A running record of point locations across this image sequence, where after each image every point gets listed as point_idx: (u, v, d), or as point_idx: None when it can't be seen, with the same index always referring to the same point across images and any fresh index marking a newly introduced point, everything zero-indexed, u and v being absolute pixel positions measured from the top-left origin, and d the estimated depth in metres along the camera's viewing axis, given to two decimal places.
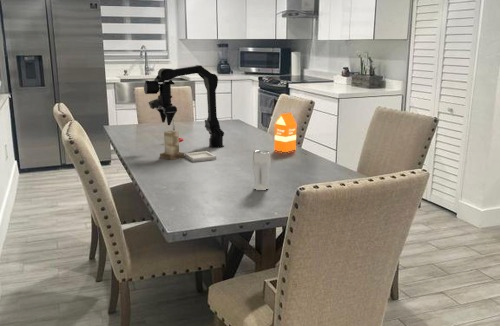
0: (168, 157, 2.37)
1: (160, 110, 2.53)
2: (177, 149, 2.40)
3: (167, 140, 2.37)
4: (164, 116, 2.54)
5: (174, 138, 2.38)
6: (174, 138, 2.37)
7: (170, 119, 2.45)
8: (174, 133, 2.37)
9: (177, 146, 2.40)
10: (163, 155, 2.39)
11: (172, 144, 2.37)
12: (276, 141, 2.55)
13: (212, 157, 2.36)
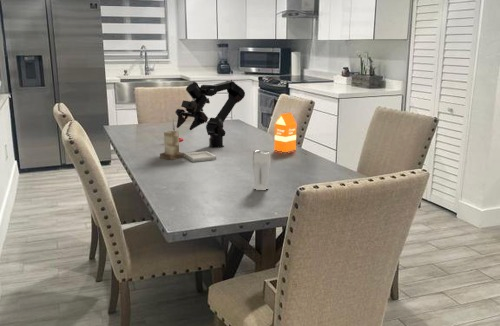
0: (168, 157, 2.37)
1: (181, 116, 2.49)
2: (177, 149, 2.40)
3: (167, 140, 2.37)
4: (180, 123, 2.49)
5: (174, 138, 2.38)
6: (174, 138, 2.37)
7: (195, 125, 2.43)
8: (174, 133, 2.37)
9: (177, 146, 2.40)
10: (163, 155, 2.39)
11: (172, 144, 2.37)
12: (276, 141, 2.55)
13: (212, 157, 2.36)
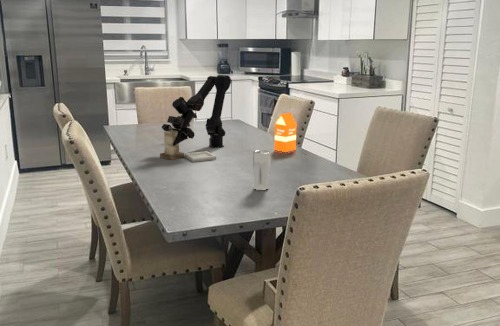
0: (168, 157, 2.37)
1: None
2: (177, 149, 2.40)
3: (167, 140, 2.37)
4: None
5: (175, 138, 2.37)
6: (174, 138, 2.37)
7: (178, 141, 2.38)
8: (174, 133, 2.37)
9: (177, 146, 2.40)
10: (163, 155, 2.39)
11: (172, 144, 2.37)
12: (276, 141, 2.55)
13: (212, 157, 2.36)
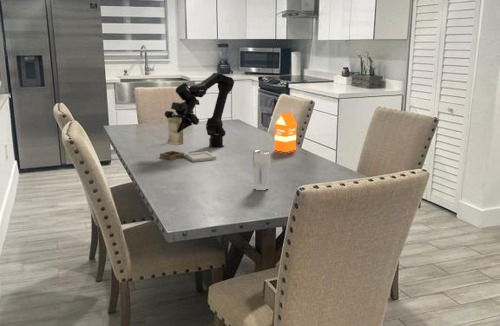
0: (168, 157, 2.37)
1: None
2: (181, 136, 2.38)
3: (171, 126, 2.35)
4: None
5: (179, 125, 2.35)
6: (178, 124, 2.35)
7: (183, 127, 2.36)
8: (178, 120, 2.34)
9: (181, 133, 2.38)
10: (163, 155, 2.39)
11: (176, 131, 2.34)
12: (276, 141, 2.55)
13: (212, 157, 2.36)
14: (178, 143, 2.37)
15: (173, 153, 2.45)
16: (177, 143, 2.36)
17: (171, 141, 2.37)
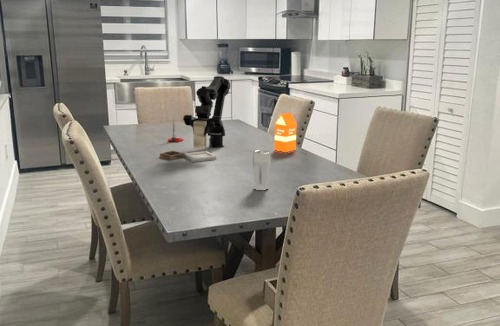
0: (168, 157, 2.37)
1: None
2: (205, 139, 2.38)
3: (198, 130, 2.34)
4: None
5: (204, 128, 2.36)
6: (204, 128, 2.35)
7: (208, 130, 2.37)
8: (204, 123, 2.35)
9: (205, 136, 2.38)
10: (163, 155, 2.39)
11: (203, 134, 2.34)
12: (276, 141, 2.55)
13: (212, 157, 2.36)
14: (204, 146, 2.37)
15: (173, 153, 2.45)
16: (203, 146, 2.36)
17: (197, 145, 2.36)
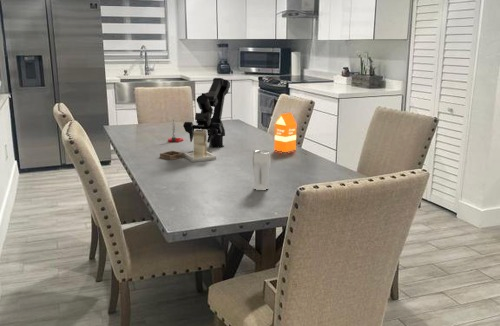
0: (168, 157, 2.37)
1: (192, 129, 2.40)
2: (205, 148, 2.39)
3: (198, 139, 2.35)
4: (192, 136, 2.39)
5: (204, 137, 2.37)
6: (204, 137, 2.36)
7: (211, 137, 2.37)
8: (204, 132, 2.36)
9: (206, 145, 2.39)
10: (163, 155, 2.39)
11: (203, 143, 2.35)
12: (276, 141, 2.55)
13: (212, 157, 2.36)
14: (204, 155, 2.38)
15: (173, 153, 2.45)
16: (204, 155, 2.37)
17: (197, 154, 2.37)
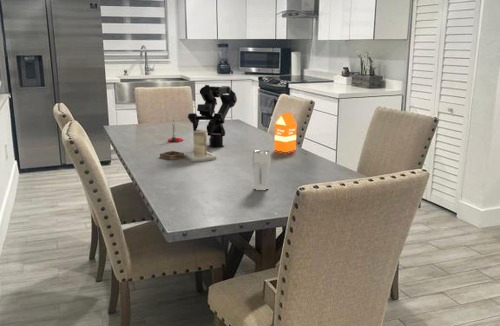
0: (168, 157, 2.37)
1: (195, 120, 2.49)
2: (205, 148, 2.39)
3: (198, 139, 2.35)
4: (196, 127, 2.49)
5: (204, 137, 2.37)
6: (204, 137, 2.36)
7: (214, 127, 2.45)
8: (204, 132, 2.36)
9: (206, 145, 2.39)
10: (163, 155, 2.39)
11: (203, 143, 2.35)
12: (276, 141, 2.55)
13: (212, 157, 2.36)
14: (204, 155, 2.38)
15: (173, 153, 2.45)
16: (204, 155, 2.37)
17: (197, 154, 2.37)
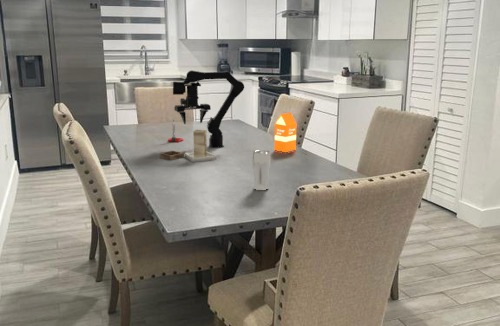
0: (168, 157, 2.37)
1: (200, 111, 2.64)
2: (205, 148, 2.39)
3: (198, 139, 2.35)
4: (201, 117, 2.62)
5: (204, 137, 2.37)
6: (204, 137, 2.36)
7: (183, 118, 2.58)
8: (204, 132, 2.36)
9: (206, 145, 2.39)
10: (163, 155, 2.39)
11: (203, 143, 2.35)
12: (276, 141, 2.55)
13: (212, 157, 2.36)
14: (204, 155, 2.38)
15: (173, 153, 2.45)
16: (204, 155, 2.37)
17: (197, 154, 2.37)
